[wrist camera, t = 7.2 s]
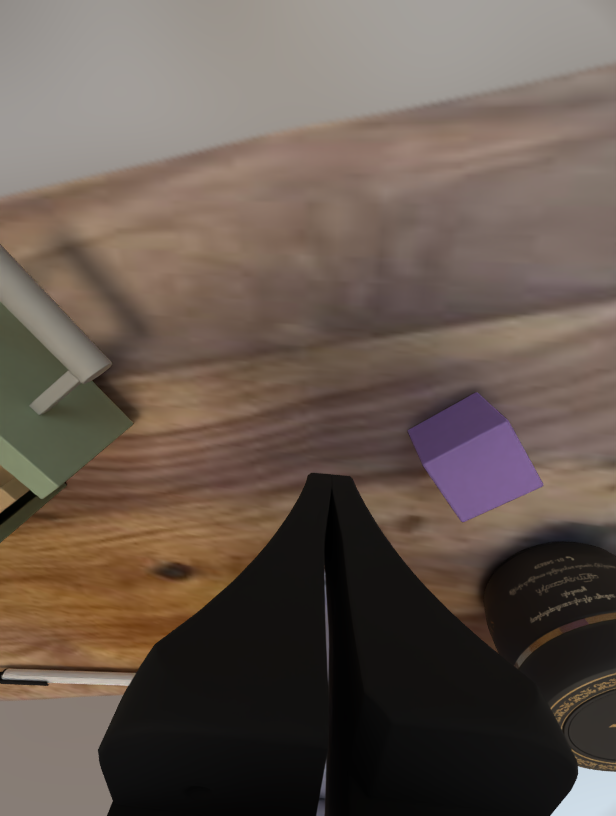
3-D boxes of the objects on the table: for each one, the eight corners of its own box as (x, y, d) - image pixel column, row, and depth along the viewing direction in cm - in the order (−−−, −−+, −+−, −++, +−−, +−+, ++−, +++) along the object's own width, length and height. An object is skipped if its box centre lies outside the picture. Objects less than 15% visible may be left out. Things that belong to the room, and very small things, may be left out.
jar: (450, 568, 23) (501, 700, 16) (605, 507, 21) (746, 635, 14) (506, 649, 26) (570, 790, 19) (647, 606, 24) (780, 751, 17)
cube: (508, 447, 19) (545, 486, 16) (441, 481, 21) (462, 523, 17) (476, 390, 18) (508, 420, 15) (406, 430, 19) (421, 465, 16)
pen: (-7, 665, 31) (-18, 679, 30) (195, 672, 30) (190, 687, 29) (-3, 671, 32) (-14, 685, 31) (197, 678, 30) (192, 693, 29)
